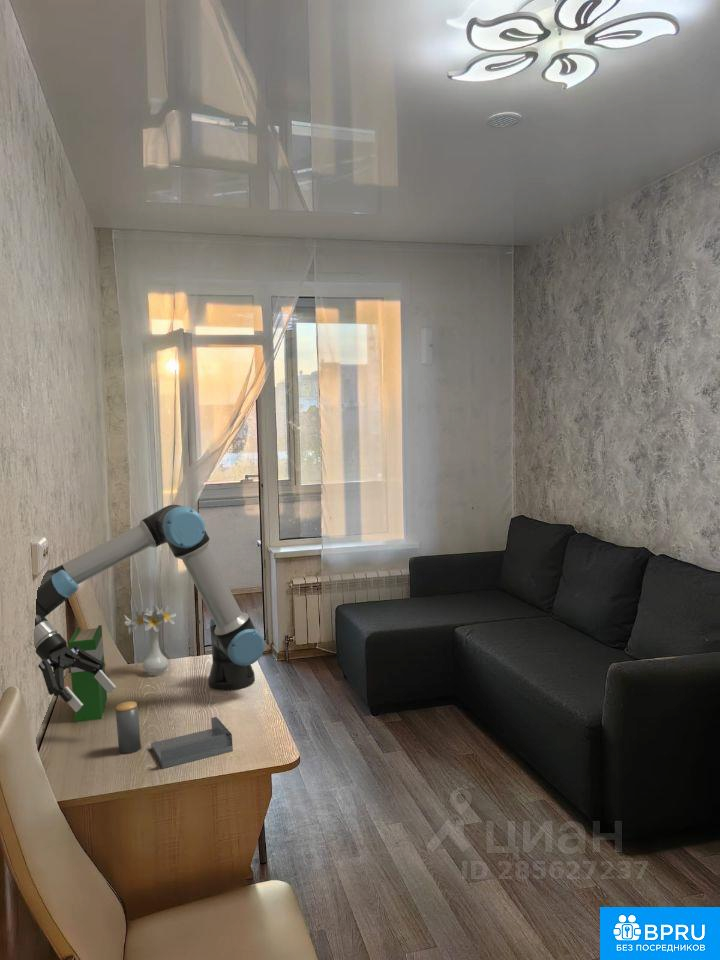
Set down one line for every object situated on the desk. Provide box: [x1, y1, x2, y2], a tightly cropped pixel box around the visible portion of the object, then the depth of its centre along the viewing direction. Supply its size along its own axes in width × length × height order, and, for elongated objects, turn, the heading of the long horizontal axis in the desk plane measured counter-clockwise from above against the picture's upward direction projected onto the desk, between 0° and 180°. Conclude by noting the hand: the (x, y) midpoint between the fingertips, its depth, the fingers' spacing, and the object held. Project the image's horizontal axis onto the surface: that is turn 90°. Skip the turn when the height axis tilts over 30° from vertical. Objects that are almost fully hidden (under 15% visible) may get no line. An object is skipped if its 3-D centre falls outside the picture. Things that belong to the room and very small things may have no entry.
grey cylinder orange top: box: [115, 701, 142, 755], centre depth 195 cm, size 6×6×12 cm
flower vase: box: [124, 604, 177, 677], centre depth 258 cm, size 12×18×24 cm
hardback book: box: [68, 624, 108, 723], centre depth 225 cm, size 18×7×24 cm, turn 14°
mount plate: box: [150, 716, 234, 769], centre depth 193 cm, size 18×14×4 cm
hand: (96, 699), depth 197 cm, fingers open, 13 cm apart
